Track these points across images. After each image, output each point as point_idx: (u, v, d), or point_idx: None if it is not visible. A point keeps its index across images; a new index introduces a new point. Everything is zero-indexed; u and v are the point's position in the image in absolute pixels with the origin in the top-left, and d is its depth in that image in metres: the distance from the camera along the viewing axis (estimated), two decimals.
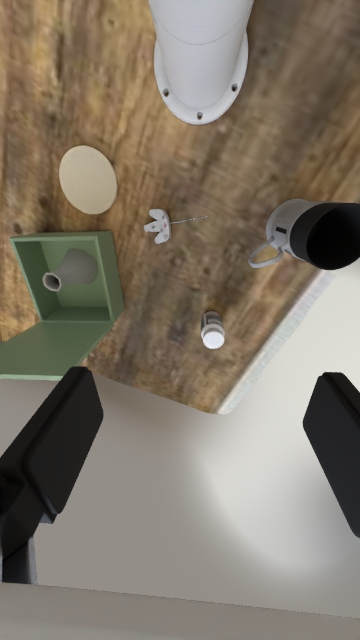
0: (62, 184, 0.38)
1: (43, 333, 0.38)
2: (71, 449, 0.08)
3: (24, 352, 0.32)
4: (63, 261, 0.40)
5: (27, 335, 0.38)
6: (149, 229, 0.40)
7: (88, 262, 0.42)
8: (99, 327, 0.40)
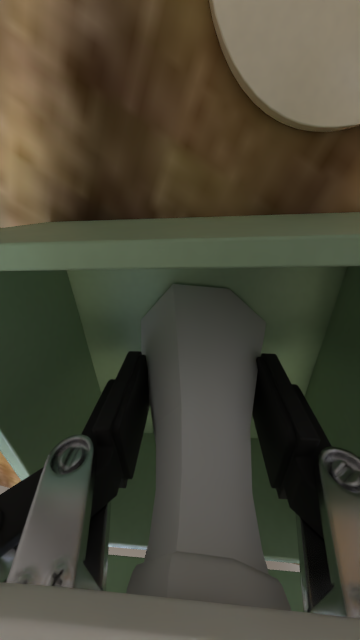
0: None
1: None
2: (136, 423, 0.08)
3: None
4: (186, 358, 0.08)
5: None
6: None
7: (259, 339, 0.10)
8: None
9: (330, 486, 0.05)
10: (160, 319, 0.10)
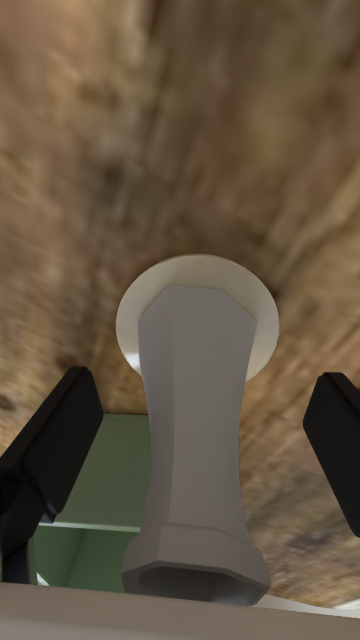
0: (122, 339, 0.14)
1: None
2: (71, 449, 0.08)
3: None
4: (180, 354, 0.09)
5: None
6: None
7: (250, 337, 0.11)
8: None
9: None
10: (156, 319, 0.11)
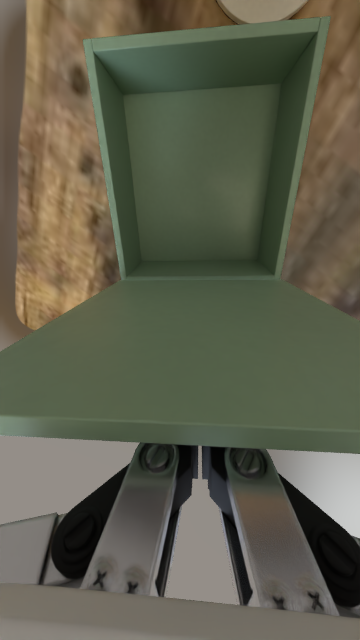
0: None
1: (155, 293, 0.16)
2: None
3: (161, 329, 0.10)
4: None
5: (120, 296, 0.15)
6: None
7: None
8: (269, 284, 0.18)
9: (237, 482, 0.05)
10: None
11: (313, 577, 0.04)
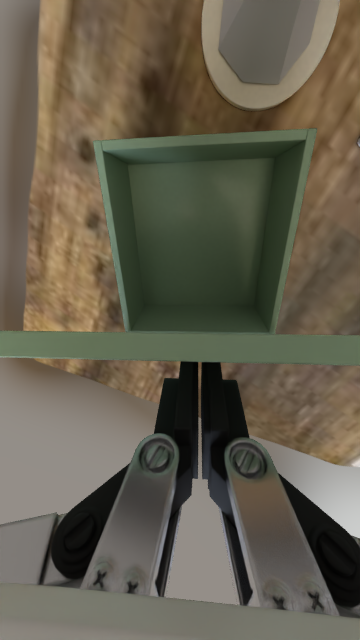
0: (206, 28, 0.17)
1: None
2: None
3: None
4: None
5: None
6: None
7: None
8: None
9: (237, 483, 0.05)
10: None
11: (313, 577, 0.04)
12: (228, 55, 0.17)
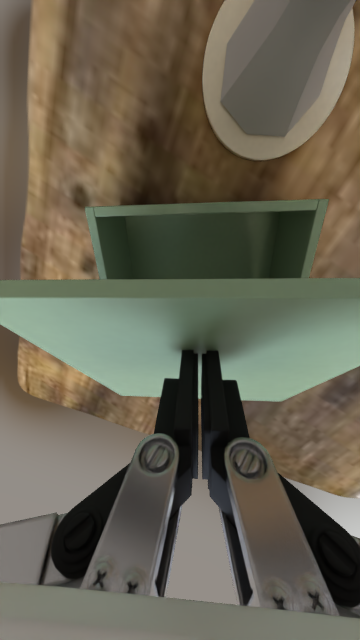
0: (207, 80, 0.16)
1: None
2: None
3: None
4: None
5: None
6: None
7: None
8: None
9: (237, 483, 0.05)
10: (255, 3, 0.13)
11: (313, 577, 0.04)
12: (231, 108, 0.16)
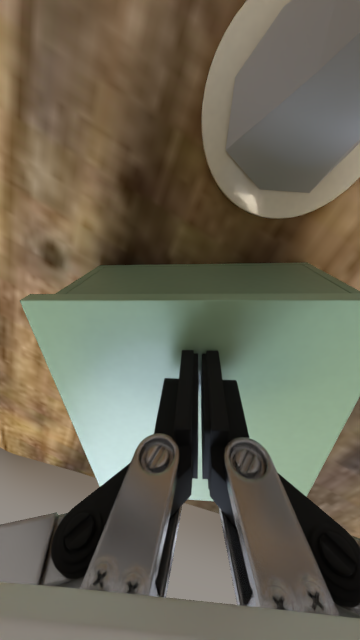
0: (208, 123, 0.12)
1: None
2: None
3: None
4: None
5: None
6: None
7: None
8: None
9: (236, 482, 0.05)
10: (277, 27, 0.09)
11: (313, 577, 0.04)
12: (240, 159, 0.12)
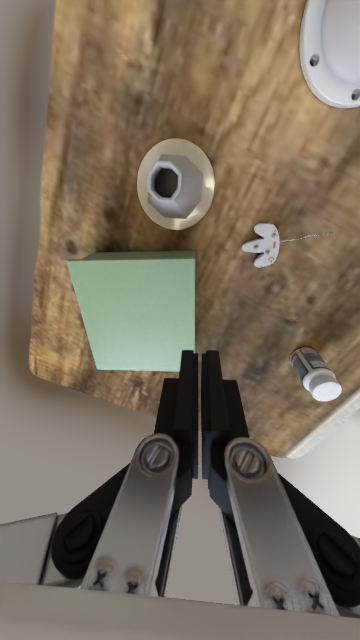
0: (139, 191, 0.28)
1: None
2: None
3: None
4: None
5: None
6: (250, 249, 0.30)
7: (197, 173, 0.25)
8: None
9: (237, 482, 0.05)
10: None
11: (313, 577, 0.04)
12: (153, 206, 0.28)
